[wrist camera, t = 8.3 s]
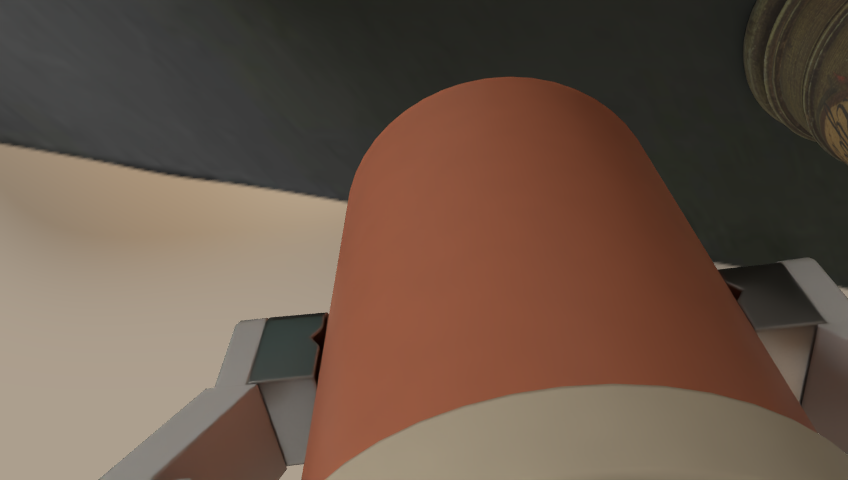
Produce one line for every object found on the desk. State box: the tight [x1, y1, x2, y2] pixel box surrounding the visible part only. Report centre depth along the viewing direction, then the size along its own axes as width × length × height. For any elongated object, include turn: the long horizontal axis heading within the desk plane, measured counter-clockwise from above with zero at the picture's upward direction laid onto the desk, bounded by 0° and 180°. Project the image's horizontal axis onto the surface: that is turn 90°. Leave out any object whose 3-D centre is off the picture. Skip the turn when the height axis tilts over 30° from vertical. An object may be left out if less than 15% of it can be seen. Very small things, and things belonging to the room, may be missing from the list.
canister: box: [302, 77, 848, 480], centre depth 11 cm, size 7×7×9 cm
